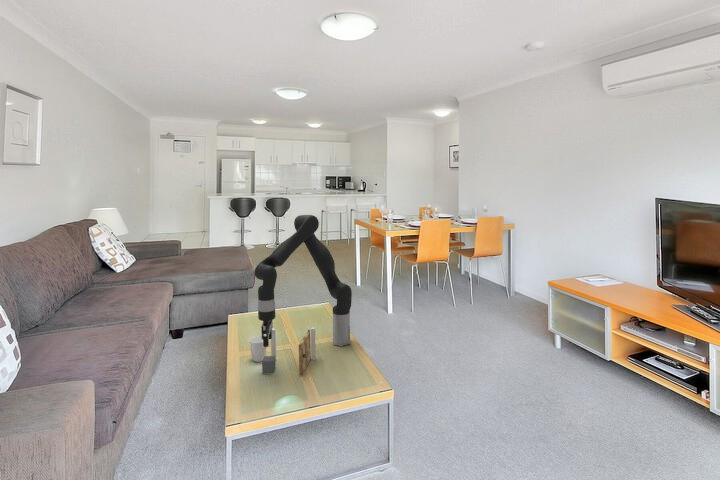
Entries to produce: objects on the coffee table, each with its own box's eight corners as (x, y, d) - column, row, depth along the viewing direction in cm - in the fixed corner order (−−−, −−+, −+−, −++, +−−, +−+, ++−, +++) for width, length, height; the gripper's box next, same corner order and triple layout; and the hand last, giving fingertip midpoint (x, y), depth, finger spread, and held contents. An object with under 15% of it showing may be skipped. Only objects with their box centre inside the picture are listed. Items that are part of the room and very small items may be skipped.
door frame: (315, 358, 182) (315, 327, 180) (315, 359, 180) (314, 328, 178) (272, 359, 181) (271, 328, 178) (271, 361, 179) (270, 330, 176)
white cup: (258, 363, 176) (257, 344, 175) (247, 359, 181) (246, 340, 179) (270, 357, 183) (269, 338, 182) (259, 353, 187) (258, 335, 186)
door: (308, 358, 182) (308, 329, 179) (313, 359, 181) (313, 329, 179) (299, 375, 166) (298, 343, 164) (304, 375, 166) (303, 343, 163)
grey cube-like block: (275, 367, 173) (275, 355, 172) (273, 373, 168) (273, 360, 167) (264, 368, 172) (264, 356, 171) (262, 373, 167) (262, 361, 166)
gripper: (272, 313, 159) (273, 349, 161) (277, 303, 173) (278, 336, 175) (254, 313, 158) (256, 349, 161) (261, 303, 172) (262, 336, 175)
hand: (267, 342), depth 168 cm, fingers open, 8 cm apart
